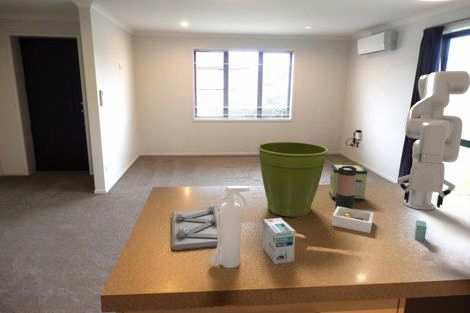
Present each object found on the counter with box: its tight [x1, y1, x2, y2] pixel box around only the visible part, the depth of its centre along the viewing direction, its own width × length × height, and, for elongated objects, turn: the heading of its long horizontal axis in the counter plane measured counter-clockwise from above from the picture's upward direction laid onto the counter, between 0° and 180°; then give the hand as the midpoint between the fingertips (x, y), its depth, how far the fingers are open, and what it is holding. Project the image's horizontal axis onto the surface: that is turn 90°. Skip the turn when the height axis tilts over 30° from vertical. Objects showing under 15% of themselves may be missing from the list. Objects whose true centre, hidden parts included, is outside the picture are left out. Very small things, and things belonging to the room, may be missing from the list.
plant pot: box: [257, 141, 329, 218], centre depth 136 cm, size 30×30×29 cm
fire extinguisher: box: [208, 185, 250, 269], centre depth 93 cm, size 7×12×25 cm, turn 112°
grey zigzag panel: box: [171, 203, 220, 251], centre depth 118 cm, size 30×22×7 cm
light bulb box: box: [262, 217, 296, 265], centre depth 100 cm, size 11×7×11 cm, turn 17°
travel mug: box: [334, 166, 357, 210], centre depth 135 cm, size 8×8×20 cm
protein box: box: [328, 164, 368, 202], centre depth 154 cm, size 10×16×16 cm
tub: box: [331, 206, 375, 234], centre depth 122 cm, size 11×14×5 cm
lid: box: [413, 219, 428, 244], centre depth 114 cm, size 12×16×7 cm
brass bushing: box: [344, 213, 352, 218], centre depth 124 cm, size 3×3×3 cm
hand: (422, 203), depth 110 cm, fingers open, 9 cm apart
